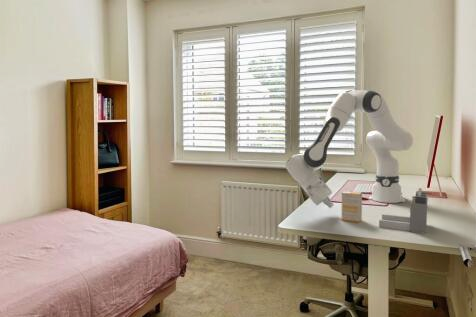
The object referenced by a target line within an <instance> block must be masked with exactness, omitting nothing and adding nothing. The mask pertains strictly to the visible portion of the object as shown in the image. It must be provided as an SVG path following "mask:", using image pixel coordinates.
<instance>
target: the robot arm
mask: <svg viewBox="0 0 476 317" xmlns="http://www.w3.org/2000/svg"><path fill="white" fill-rule="evenodd" d="M353 113H366V117H367V119H368V120H369V121H368V122H369V124H370V126H371V128H372V129H373V130H372V131H369V132H368V133H367V135H366V138H365V142H366V146H367V147H368V148H369V149H370V150H371V151H372V153H373V154H374V157H375V159H376V160H375V161H376V174H375V183H373V184H372V190H371V191H372V192H371V195H370V196H369V197H368V199H369V200H372V201H375V202H377V203H384V204H385V203H386V204H387V203H389V204H396V203H405V202H406V199H405V197H404V196H403V193H402V186H401V185H400V177H399V166H400V164H399V161H398V159H396V158H395V157H394V156H393V155H392V154H391V151H394V152H401V151H408V150H410V148H411V147H412V146H413V144H414V139H413V135H412V134H411V133H410V132H409V131H407V130H405V129H404V128H402V127H401V126H399V124H397V122H396V121H395V120H394V118H393V116H392V114H391V112H390V108H389V106H388V104H387V102H386V99H385V98H384V96H383V95H382V93H380V92H379V91H374V90H364V89H360V90H359V89H358V90H357V89H356V90H351V89H350V90H346V91H344V92H341V93H339V94H338V95H337V96H336V98H335V99H334V100H333V102H332V103H331V104H330V106H329V108H328V109H327V112H326V115H324V116H325V117H324V119H323V127H322V128H321V131H320V132H319V134H318V135H317V137H316V139H315V140H314V142H313V143H312V144H311V145H309V146H308V147H307V148H306V149H305V150H304V153H301V154H293V155H291V156H290V158H288V160H287V161H286V164H285V169H286V171H287V172H288V173H289V174H290V176H291V177H292V178H293V179H294V180H295V181H297V182H298V185H299V186H300V187H301V189H303V190H304V192H306V193H307V196H308V197H309V198H310V200H311V202H312V203H314V204H315V205H316V206H319V205H320V204H321V203H323V204H324V205H326V206H327V207H328V208H329V209H331V208H333V206H334V202H332V199H331V198H330V196H331V195H332V194H333V191H332V190H331V188H330V187H329V186H328V184H327V183H326V182H324V179H323V177H321V176H318V175H317V174H316V173H315V171H317V170H319V169H321V168H322V167H323V165H324V164H325V162H326V159H327V153H328V152H327V151H328V148H329V147H330V144H331V142H332V140H333V139H334V137H335V135H336V134H337V133H338V132H340V131H342V130H343V129H344V128H345V126H346V125H347V123H348V122H349V120H350V119H351V117H352V115H353Z"/></svg>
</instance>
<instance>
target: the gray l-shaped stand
mask: <svg viewBox="0 0 476 317" xmlns="http://www.w3.org/2000/svg"><path fill="white" fill-rule="evenodd" d="M422 189H423V188H422V187H420V188H418V190H417V191H415V195H412V197H411V200H410V208H409V212H410V214H409V216H405V215H396V214H395V215H394V214H387V213H382V214H381V219H378V227H379V228H383V229H385V228H386V229H391V230H392V229H393V230H402V231H409V233H416V234H417V233H418V234H427V224H428V223H427V221H428V202H429V201H428V197H427V192H426V191H423V190H422Z"/></svg>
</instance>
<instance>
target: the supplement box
mask: <svg viewBox="0 0 476 317" xmlns="http://www.w3.org/2000/svg"><path fill="white" fill-rule="evenodd" d="M362 212H363V192H361V191H352V190H351V191H350V190H344V191H342V192H341V221H346V222H356V223H360V222H362V218H363V217H362V216H363V213H362Z"/></svg>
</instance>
